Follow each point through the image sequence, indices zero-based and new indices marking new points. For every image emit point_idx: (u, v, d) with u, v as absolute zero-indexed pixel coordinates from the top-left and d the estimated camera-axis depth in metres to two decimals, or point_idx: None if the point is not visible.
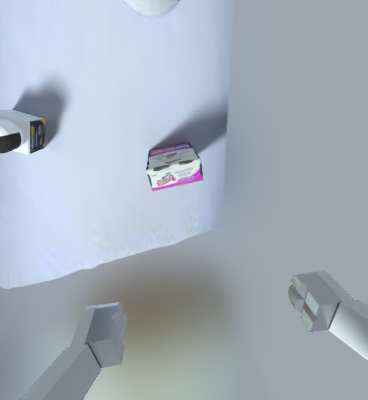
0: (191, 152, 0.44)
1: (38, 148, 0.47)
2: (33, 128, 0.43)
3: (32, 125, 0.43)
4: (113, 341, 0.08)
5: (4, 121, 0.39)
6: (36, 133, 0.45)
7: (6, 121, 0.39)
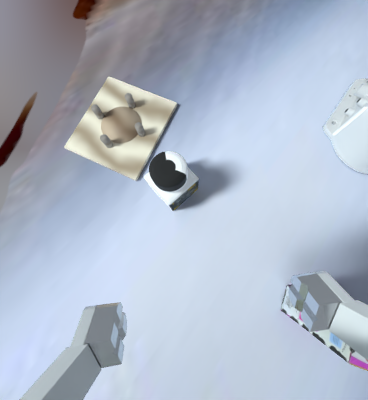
0: None
1: (173, 206, 0.38)
2: (193, 186, 0.37)
3: (195, 184, 0.36)
4: (113, 341, 0.08)
5: None
6: (187, 192, 0.38)
7: None
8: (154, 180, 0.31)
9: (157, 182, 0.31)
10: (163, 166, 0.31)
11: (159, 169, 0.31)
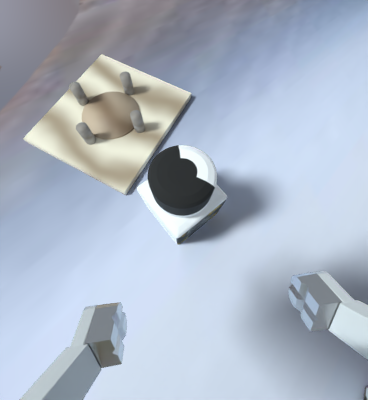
0: None
1: (181, 239, 0.24)
2: (216, 209, 0.23)
3: (220, 205, 0.22)
4: (113, 341, 0.08)
5: None
6: (206, 218, 0.23)
7: None
8: (156, 193, 0.17)
9: (161, 198, 0.17)
10: (174, 169, 0.17)
11: (167, 174, 0.17)
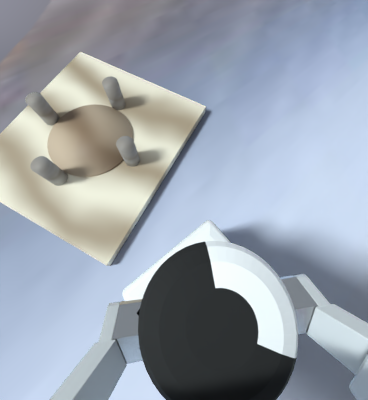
0: None
1: None
2: None
3: None
4: None
5: None
6: None
7: None
8: (158, 384, 0.07)
9: None
10: (202, 322, 0.07)
11: (186, 337, 0.07)
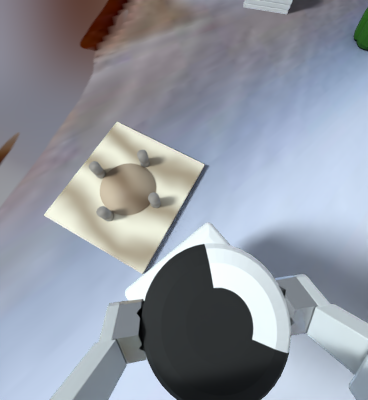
0: None
1: None
2: None
3: None
4: (140, 337, 0.08)
5: None
6: None
7: None
8: (160, 376, 0.07)
9: (171, 391, 0.07)
10: (201, 320, 0.07)
11: (186, 333, 0.07)
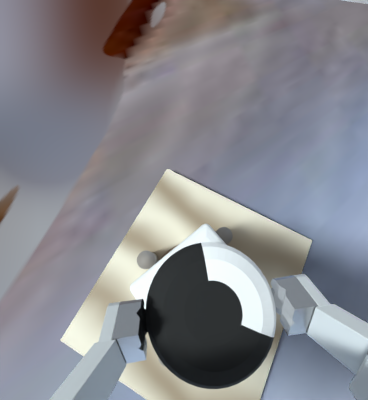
0: None
1: None
2: None
3: None
4: (140, 337, 0.08)
5: None
6: None
7: None
8: (162, 357, 0.09)
9: (171, 369, 0.08)
10: (197, 308, 0.09)
11: (184, 319, 0.08)
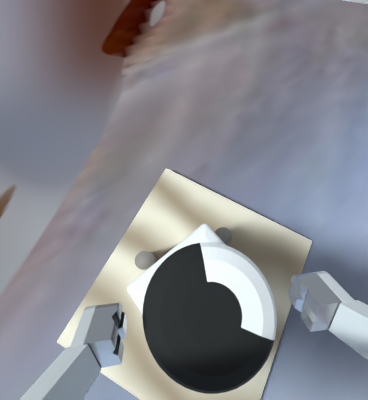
0: None
1: None
2: None
3: None
4: (113, 341, 0.08)
5: None
6: None
7: None
8: (159, 360, 0.08)
9: (169, 373, 0.08)
10: (195, 310, 0.08)
11: (182, 321, 0.08)
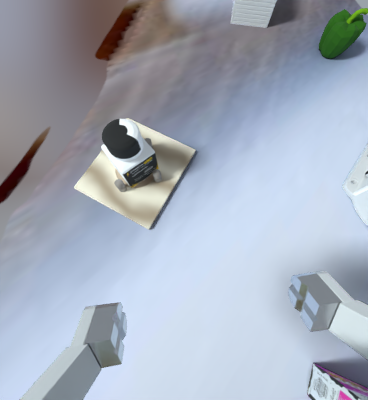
0: None
1: (130, 180, 0.38)
2: (150, 160, 0.37)
3: (152, 158, 0.37)
4: (113, 341, 0.08)
5: None
6: (145, 167, 0.38)
7: (141, 136, 0.35)
8: (105, 143, 0.31)
9: (107, 145, 0.31)
10: (115, 130, 0.31)
11: (111, 132, 0.31)
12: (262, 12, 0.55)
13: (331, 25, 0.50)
